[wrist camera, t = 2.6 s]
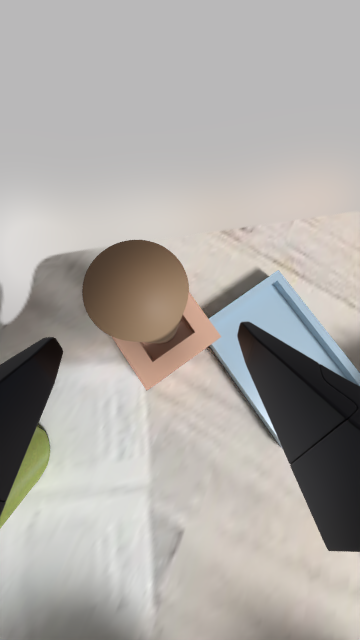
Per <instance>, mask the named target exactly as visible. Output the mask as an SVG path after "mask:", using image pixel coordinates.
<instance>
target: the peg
mask: <svg viewBox="0 0 360 640" xmlns="http://www.w3.org/2000/svg"><path fill="white" fill-rule="evenodd" d="M82 293H83V301H84V306H85V308H86V311H87V313H88V315H89V317H90V318H91V320H92V321H93V322H94V324H95V325H96V326H97V327H98V328H99V329H101V330H102V331H103V332H105V333H106V334H108V335H110V336H112V337H115V338H117V339H121V340H125V341H134V342H146V343H157V344H163V343H167V342H169V341H170V340H172V339H173V337H174V336H175V334H176V332H177V329H178V326H179V324H180V321H181V318H182V315H183V313H184V310H185V307H186V304H187V300H188V294H189V284H188V278H187V275H186V272H185V270H184V268H183V266H182V264H181V263H180V261H179V260H178V259H177V257H176V256H175V255H174V254H173V253H171V252H170V251H169V250H168V249H166V248H165V247H163V246H161V245H159V244H156V243H154V242H150V241H145V240H129V241H124V242H120V243H117V244H114V245H112V246H110V247H108V248H107V249H105V250H104V251H103V252H101V253H100V254H99V255H98V256H97V257H96V258H95V259H94V260H93V262H92V263H91V265H90V266H89V268H88V270H87V272H86V275H85V278H84V282H83V291H82Z"/></svg>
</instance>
